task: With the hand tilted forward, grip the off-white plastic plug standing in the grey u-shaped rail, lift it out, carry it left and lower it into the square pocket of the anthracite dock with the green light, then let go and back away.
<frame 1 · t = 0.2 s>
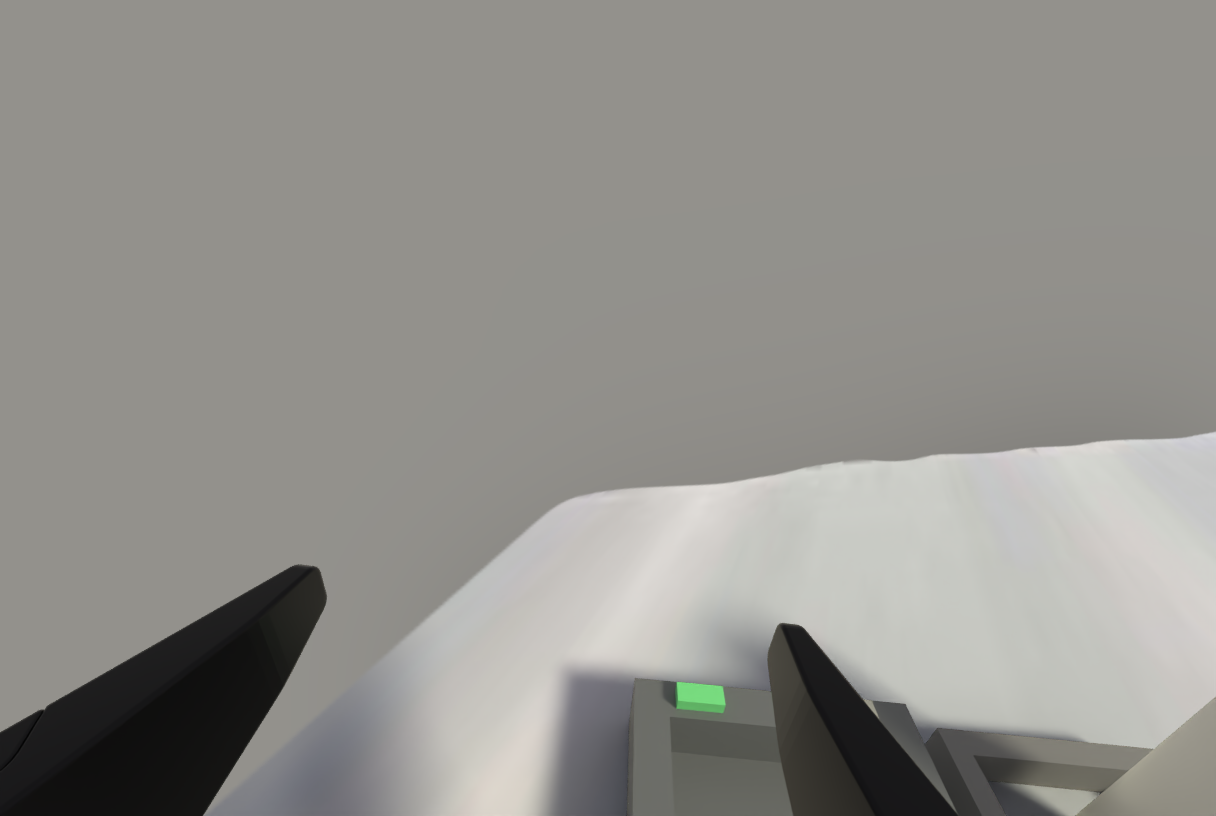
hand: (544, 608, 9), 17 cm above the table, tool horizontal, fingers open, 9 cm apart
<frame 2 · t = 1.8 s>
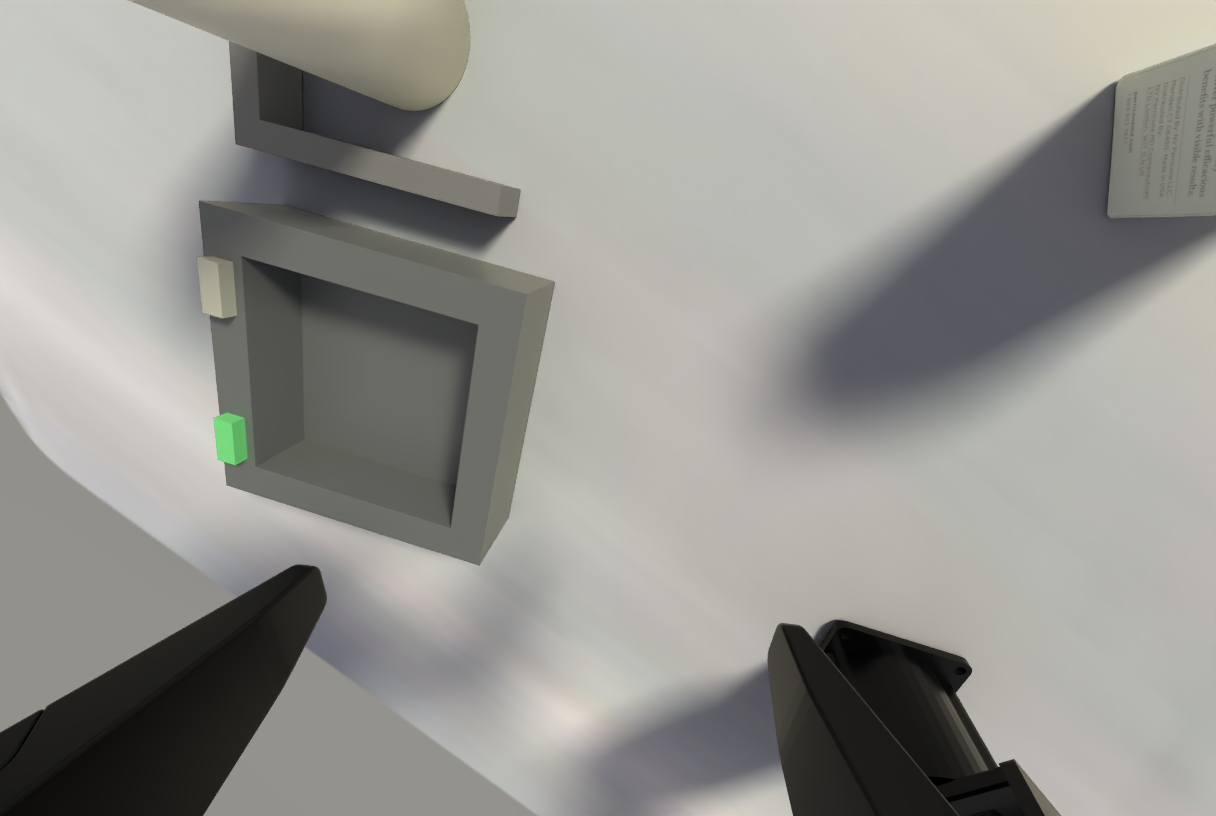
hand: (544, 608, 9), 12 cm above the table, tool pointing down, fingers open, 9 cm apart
skincare box: (1215, 121, 14), on the table
grey u-shaped rail: (405, 31, 16), on the table
dock: (405, 376, 21), on the table
plug: (405, 32, 16), on the table
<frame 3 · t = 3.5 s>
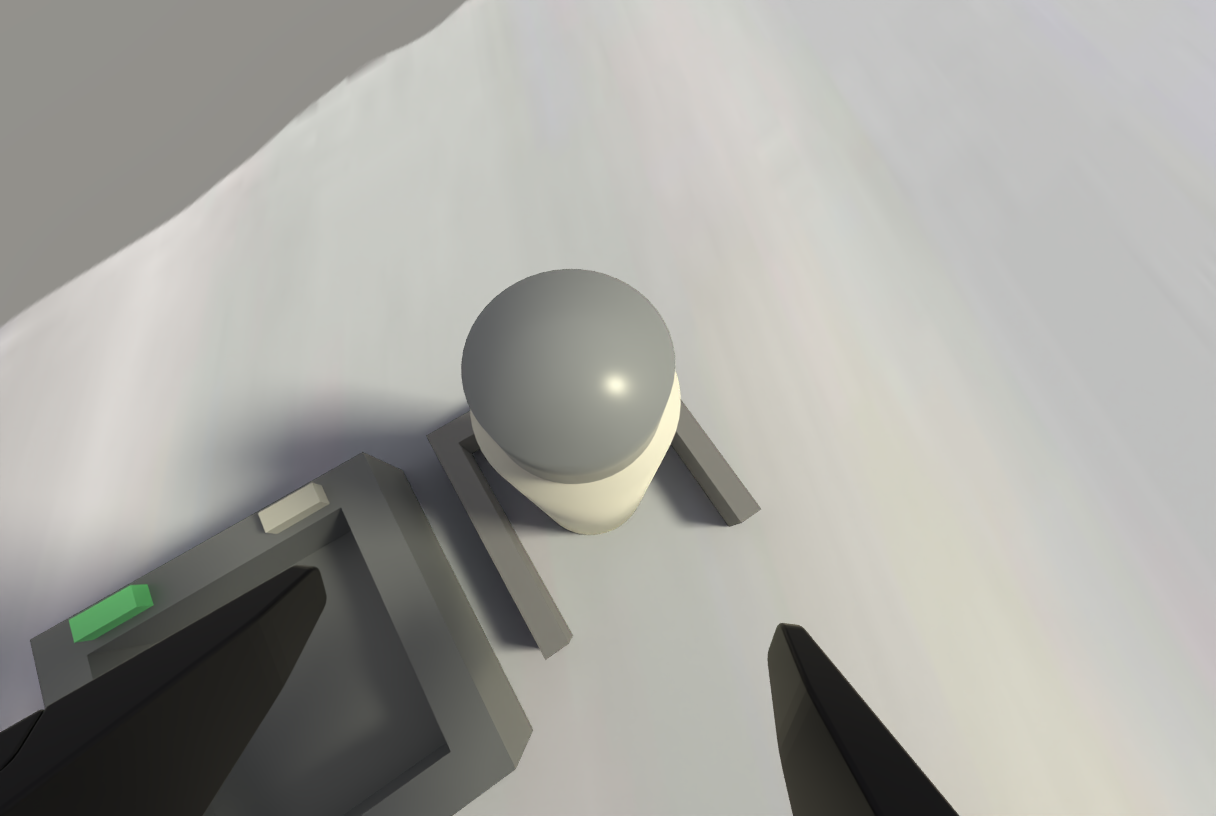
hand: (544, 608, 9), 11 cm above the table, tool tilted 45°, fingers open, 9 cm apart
grey u-shaped rail: (591, 479, 21), on the table
dock: (327, 676, 18), on the table
plug: (591, 480, 21), on the table
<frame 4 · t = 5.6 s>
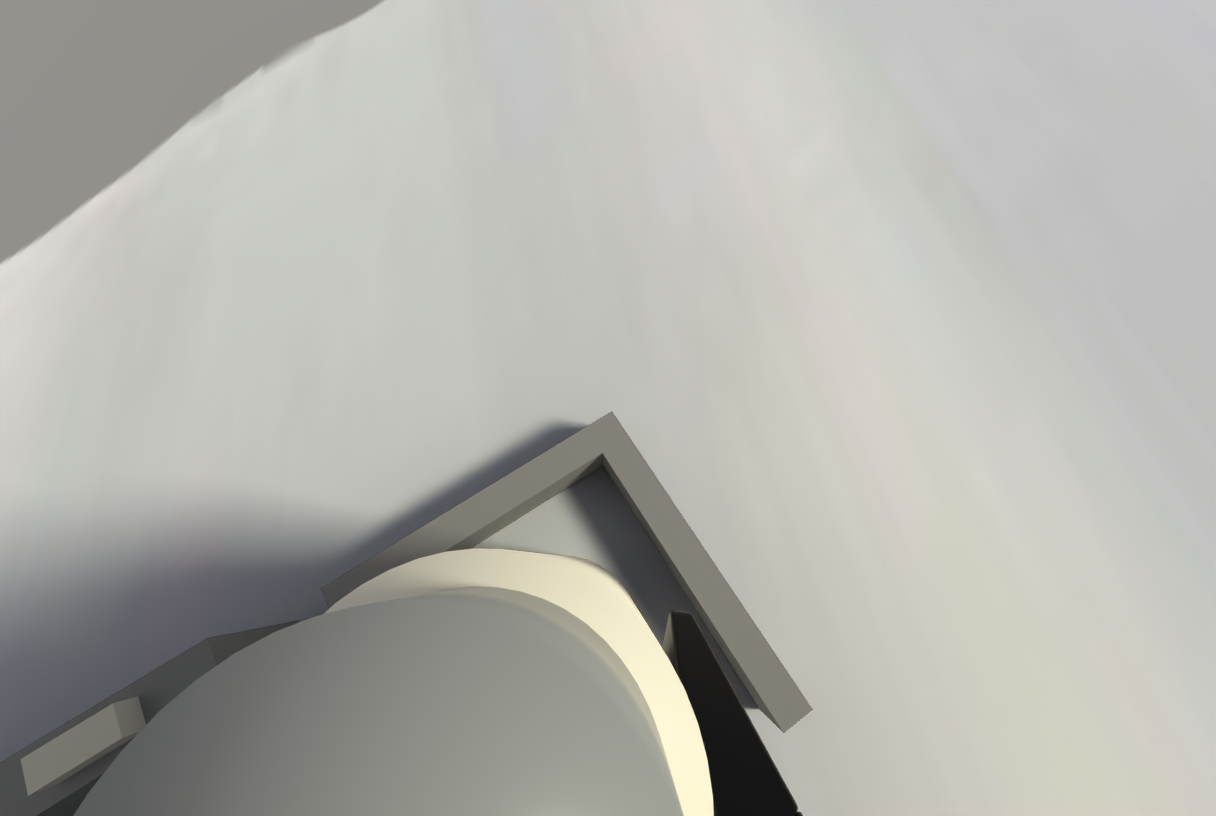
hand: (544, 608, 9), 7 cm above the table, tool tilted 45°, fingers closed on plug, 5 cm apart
grey u-shaped rail: (564, 635, 15), on the table
plug: (564, 635, 15), on the table, touching gripper
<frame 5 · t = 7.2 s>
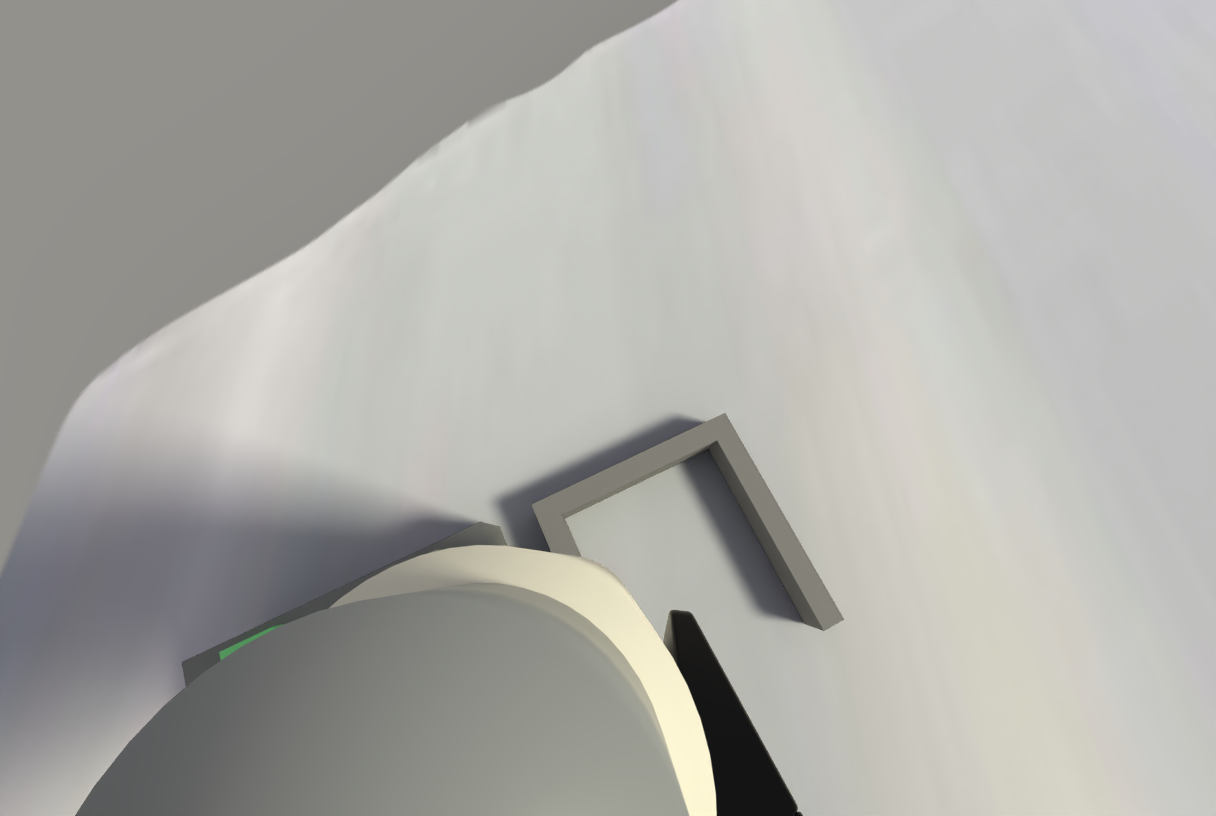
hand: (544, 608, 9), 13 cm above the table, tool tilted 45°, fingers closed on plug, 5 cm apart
grey u-shaped rail: (675, 559, 22), on the table
dock: (421, 717, 20), on the table
plug: (565, 633, 15), point 7 cm above the table, touching gripper
when the fingers open (8 cm above the table, at t = 9.1 s): plug drops 1 cm, resting on dock.
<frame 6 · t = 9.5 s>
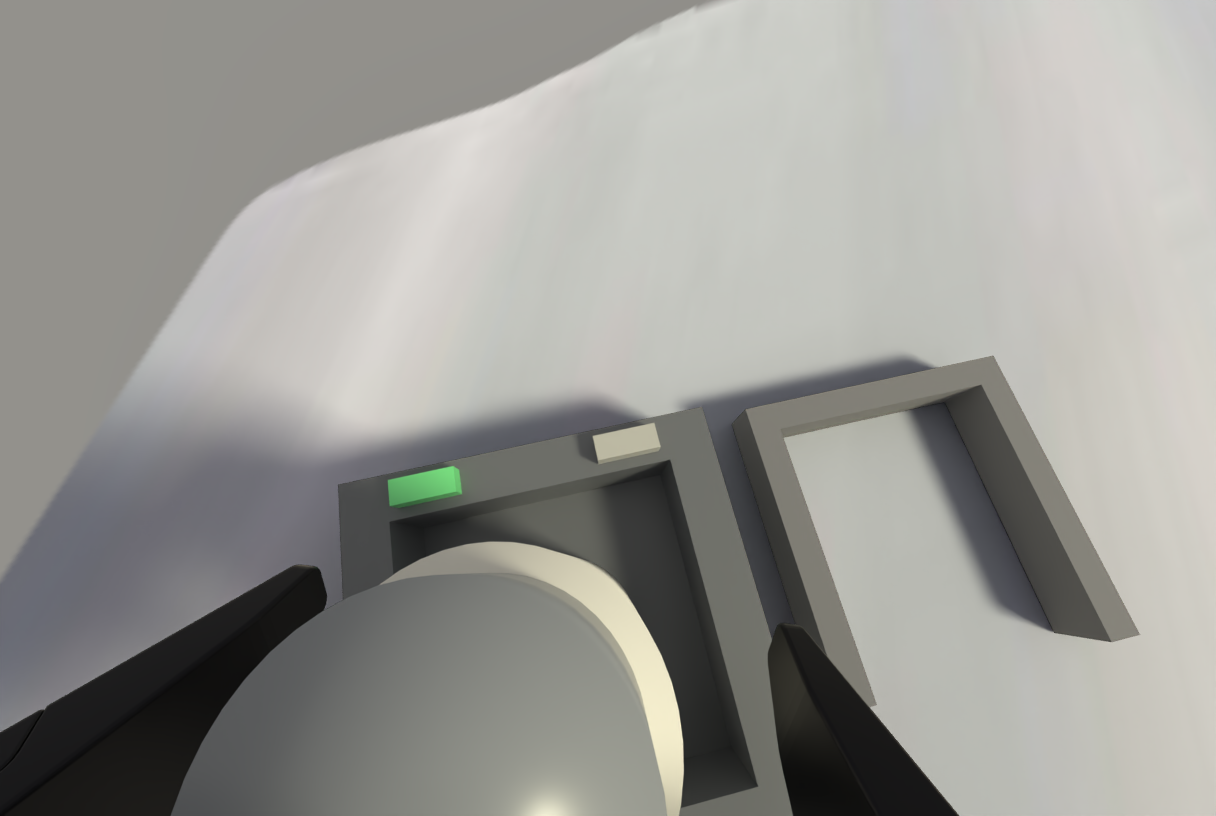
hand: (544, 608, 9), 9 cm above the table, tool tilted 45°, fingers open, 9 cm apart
grey u-shaped rail: (894, 518, 18), on the table
dock: (569, 626, 17), on the table
plug: (566, 631, 16), point 1 cm above the table, touching dock
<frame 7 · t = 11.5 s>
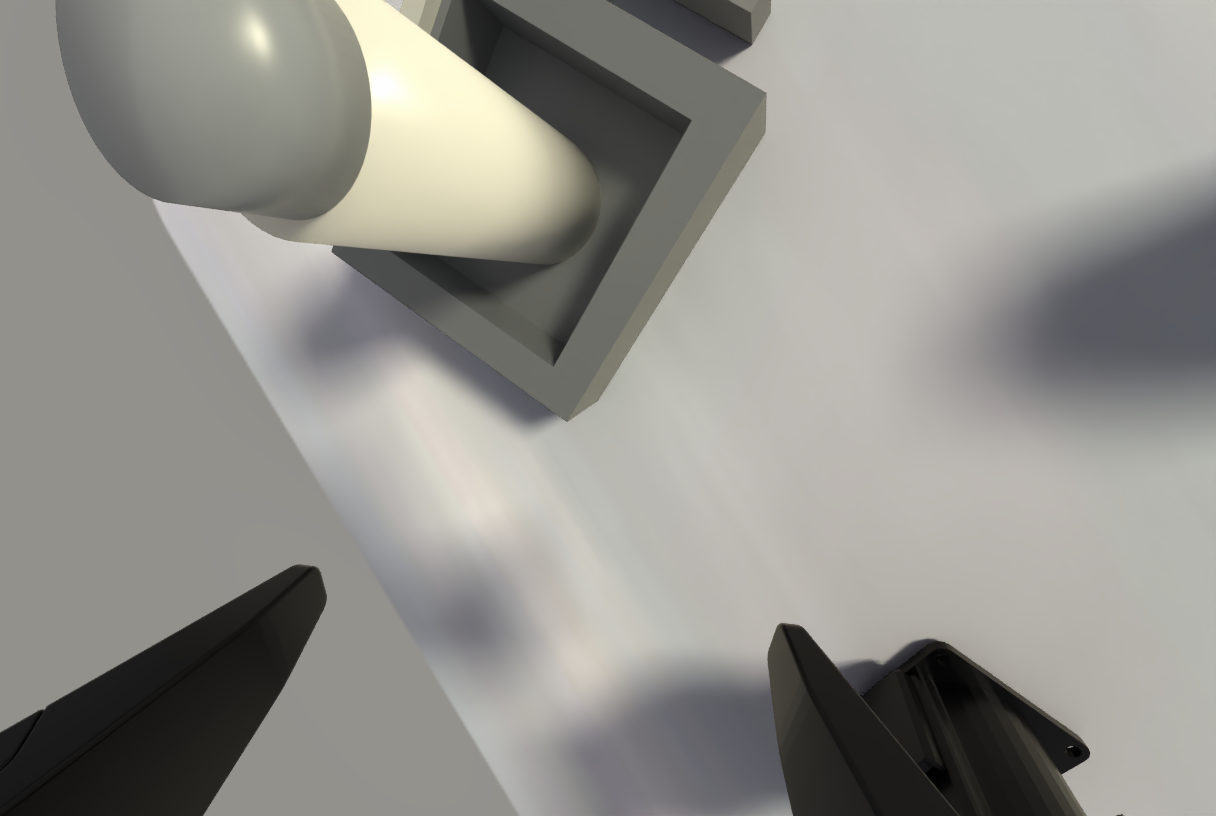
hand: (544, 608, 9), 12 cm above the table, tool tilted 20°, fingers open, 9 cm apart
dock: (552, 204, 19), on the table
plug: (544, 202, 19), point 1 cm above the table, touching dock
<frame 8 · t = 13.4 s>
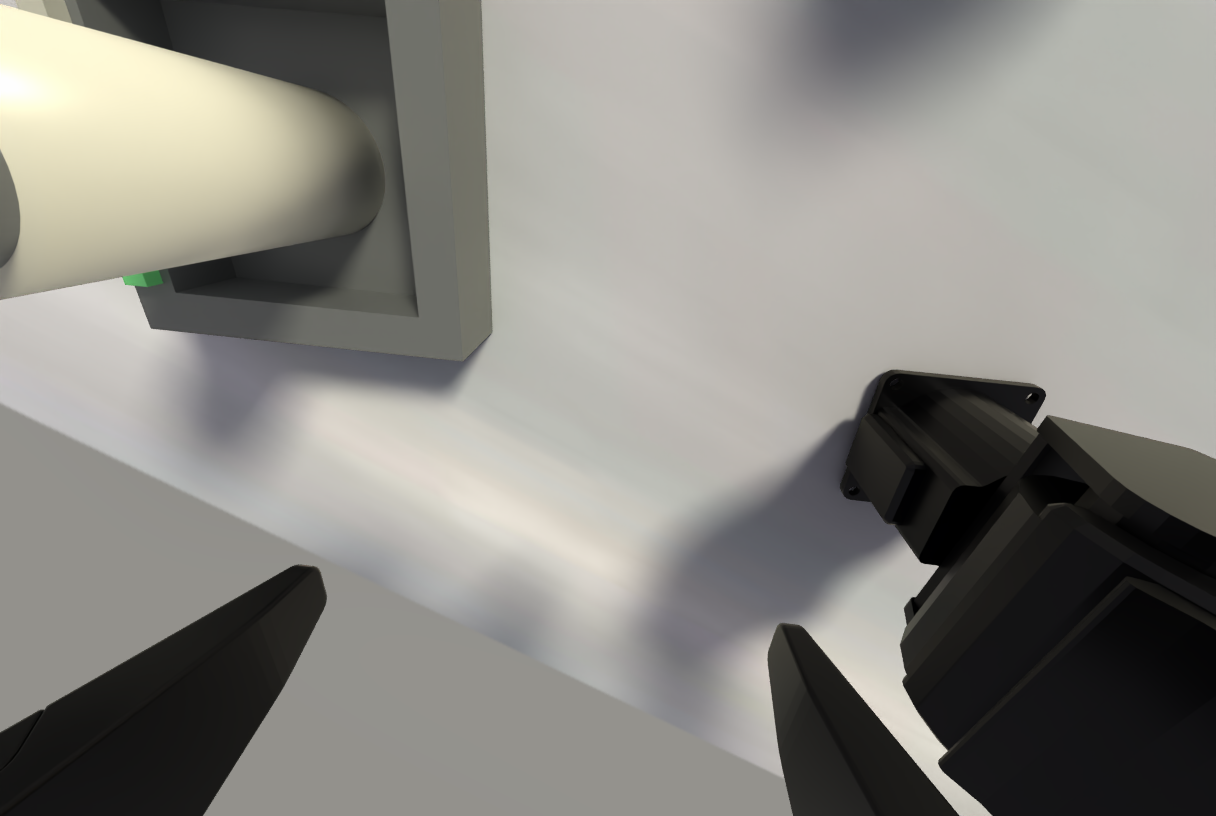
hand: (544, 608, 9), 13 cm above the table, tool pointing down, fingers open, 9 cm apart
dock: (333, 165, 18), on the table
plug: (320, 166, 17), point 1 cm above the table, touching dock
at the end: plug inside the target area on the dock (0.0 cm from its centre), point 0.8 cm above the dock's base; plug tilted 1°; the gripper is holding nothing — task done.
